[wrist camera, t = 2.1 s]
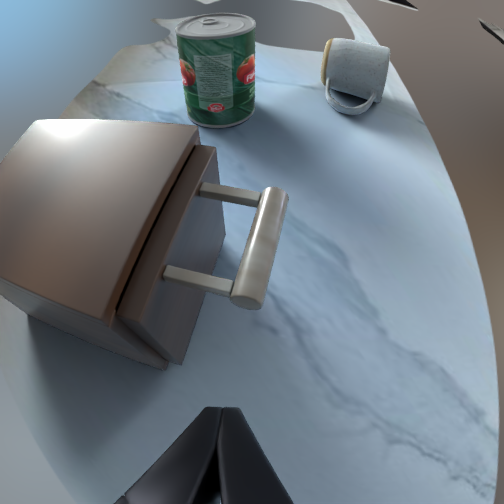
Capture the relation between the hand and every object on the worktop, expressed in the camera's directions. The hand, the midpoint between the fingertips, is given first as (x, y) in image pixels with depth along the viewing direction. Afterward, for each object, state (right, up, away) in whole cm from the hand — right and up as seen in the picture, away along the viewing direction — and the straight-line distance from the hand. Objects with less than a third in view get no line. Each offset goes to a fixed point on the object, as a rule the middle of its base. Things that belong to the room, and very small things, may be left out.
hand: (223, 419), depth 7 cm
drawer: (-6, +2, +16) cm, 17 cm away
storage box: (-10, +2, +17) cm, 20 cm away
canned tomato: (-3, +21, +28) cm, 35 cm away
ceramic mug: (+14, +24, +30) cm, 41 cm away
